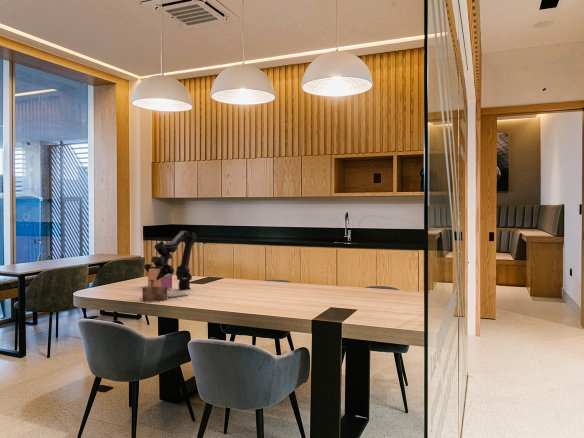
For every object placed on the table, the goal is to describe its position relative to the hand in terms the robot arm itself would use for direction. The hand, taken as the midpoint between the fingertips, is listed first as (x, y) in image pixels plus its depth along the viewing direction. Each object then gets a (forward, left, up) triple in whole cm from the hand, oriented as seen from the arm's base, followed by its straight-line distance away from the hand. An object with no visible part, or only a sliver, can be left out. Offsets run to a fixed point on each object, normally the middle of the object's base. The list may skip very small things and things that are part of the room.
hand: (153, 279), depth 276 cm
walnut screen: (+2, +8, -11) cm, 14 cm away
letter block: (-1, -1, -7) cm, 7 cm away
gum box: (-19, -37, -12) cm, 43 cm away
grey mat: (-13, +1, -11) cm, 17 cm away
